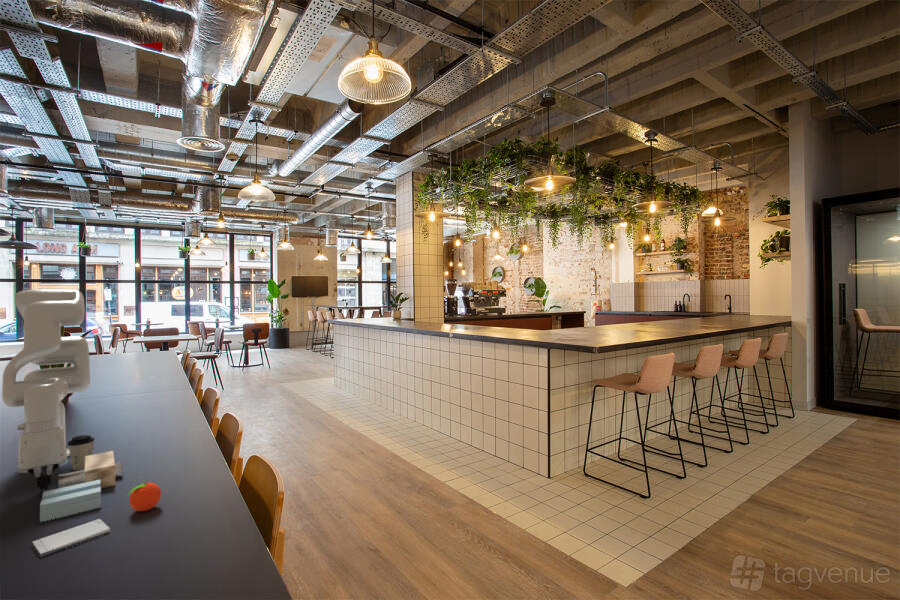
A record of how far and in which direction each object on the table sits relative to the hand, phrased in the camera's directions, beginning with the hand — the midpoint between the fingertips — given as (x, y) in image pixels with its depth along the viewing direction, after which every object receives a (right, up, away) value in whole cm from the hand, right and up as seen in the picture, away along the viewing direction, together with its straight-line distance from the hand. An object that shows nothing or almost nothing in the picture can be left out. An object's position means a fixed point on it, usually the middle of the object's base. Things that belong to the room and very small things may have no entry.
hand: (44, 488), depth 127 cm
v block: (+16, -1, -9) cm, 18 cm away
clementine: (+37, -1, -12) cm, 39 cm away
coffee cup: (-4, -1, +18) cm, 19 cm away
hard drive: (+30, -2, -25) cm, 39 cm away
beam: (+10, -1, +8) cm, 13 cm away
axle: (+8, -1, +7) cm, 11 cm away
